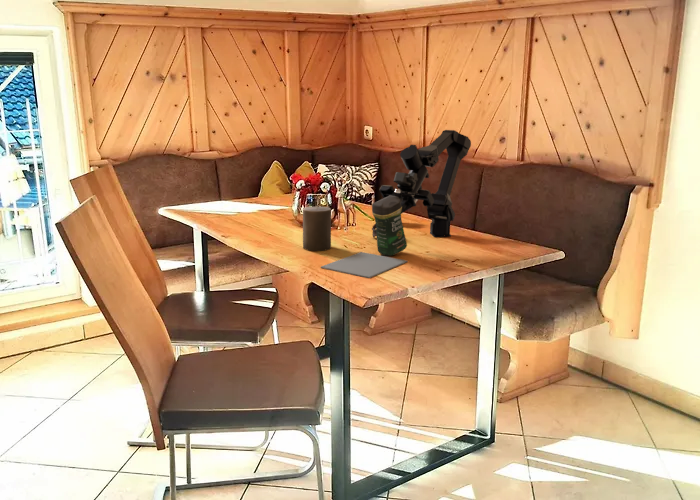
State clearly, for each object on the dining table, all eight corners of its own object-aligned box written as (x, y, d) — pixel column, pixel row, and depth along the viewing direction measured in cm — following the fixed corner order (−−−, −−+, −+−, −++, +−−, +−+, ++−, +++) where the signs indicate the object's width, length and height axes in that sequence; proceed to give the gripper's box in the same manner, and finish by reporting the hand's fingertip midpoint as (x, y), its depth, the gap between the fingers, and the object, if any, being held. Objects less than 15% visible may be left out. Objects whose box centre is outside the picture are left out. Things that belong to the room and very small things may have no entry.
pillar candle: (324, 252, 217) (324, 208, 213) (298, 249, 220) (297, 206, 217) (335, 246, 226) (335, 203, 222) (309, 243, 229) (309, 201, 225)
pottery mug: (402, 243, 232) (392, 224, 229) (378, 253, 235) (368, 235, 232) (401, 227, 243) (392, 209, 239) (379, 237, 245) (369, 219, 242)
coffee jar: (391, 259, 210) (383, 206, 202) (374, 253, 216) (366, 202, 208) (411, 247, 215) (404, 195, 207) (394, 241, 221) (387, 191, 213)
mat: (361, 253, 216) (361, 251, 216) (407, 261, 206) (407, 260, 206) (320, 267, 199) (320, 266, 199) (369, 278, 189) (369, 276, 189)
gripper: (383, 161, 219) (363, 196, 213) (431, 165, 209) (412, 203, 202) (394, 182, 227) (375, 217, 221) (441, 187, 217) (423, 224, 210)
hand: (396, 215), depth 213 cm, fingers closed, pressing on coffee jar
